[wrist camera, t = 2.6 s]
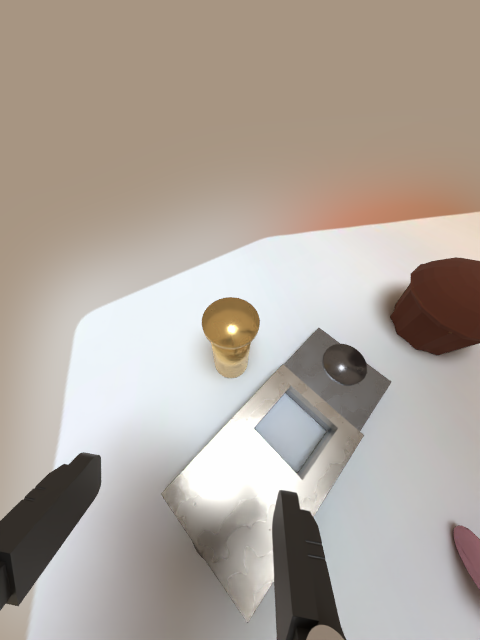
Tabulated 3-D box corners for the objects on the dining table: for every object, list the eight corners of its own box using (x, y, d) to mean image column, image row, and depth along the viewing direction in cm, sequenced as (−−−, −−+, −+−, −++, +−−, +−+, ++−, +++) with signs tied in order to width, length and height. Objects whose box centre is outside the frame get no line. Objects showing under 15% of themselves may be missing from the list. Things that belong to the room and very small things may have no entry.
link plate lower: (317, 330, 31) (321, 324, 29) (385, 382, 28) (394, 378, 26) (229, 424, 25) (229, 422, 23) (304, 508, 21) (310, 512, 20)
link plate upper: (278, 372, 28) (282, 364, 25) (350, 437, 24) (363, 435, 22) (164, 494, 21) (155, 499, 19) (241, 606, 18) (242, 631, 15)
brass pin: (231, 336, 30) (231, 288, 22) (259, 362, 28) (271, 320, 20) (202, 362, 28) (190, 320, 20) (230, 391, 26) (230, 358, 18)
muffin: (474, 320, 33) (559, 271, 24) (461, 381, 28) (562, 347, 19) (392, 281, 36) (441, 227, 28) (368, 330, 31) (419, 282, 23)
